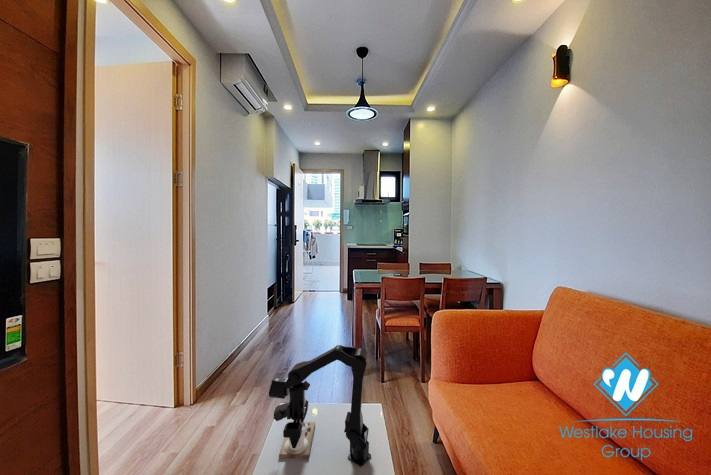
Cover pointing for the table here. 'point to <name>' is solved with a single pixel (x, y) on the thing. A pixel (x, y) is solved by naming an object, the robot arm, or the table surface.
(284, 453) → the gear board
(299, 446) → the shot glass
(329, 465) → the table surface
